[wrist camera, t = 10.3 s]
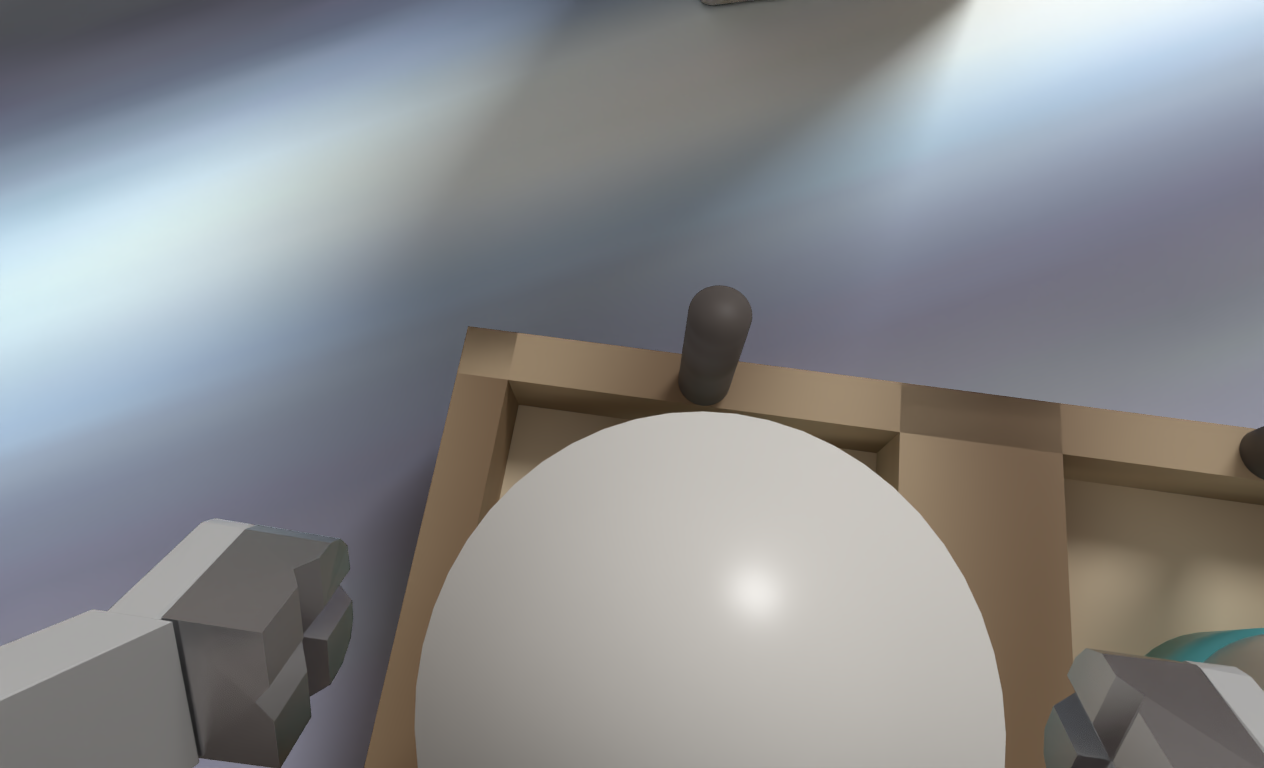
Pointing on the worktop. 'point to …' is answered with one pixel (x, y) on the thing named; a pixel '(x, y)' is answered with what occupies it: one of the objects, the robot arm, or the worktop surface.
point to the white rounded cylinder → (706, 615)
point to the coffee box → (721, 1)
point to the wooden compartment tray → (917, 468)
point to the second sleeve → (1219, 650)
